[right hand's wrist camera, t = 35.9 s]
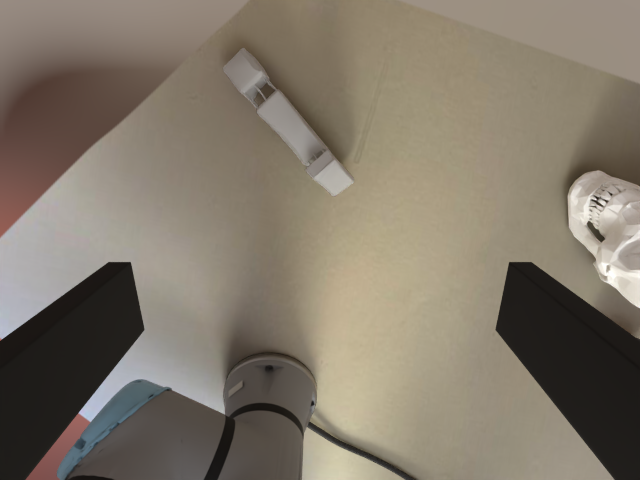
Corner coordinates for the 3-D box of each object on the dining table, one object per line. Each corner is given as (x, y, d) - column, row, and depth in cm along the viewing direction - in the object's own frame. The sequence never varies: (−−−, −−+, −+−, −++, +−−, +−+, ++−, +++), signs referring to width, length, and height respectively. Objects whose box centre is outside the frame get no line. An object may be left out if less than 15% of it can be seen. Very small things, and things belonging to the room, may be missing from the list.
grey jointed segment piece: (355, 178, 47) (358, 184, 40) (334, 196, 47) (332, 205, 41) (252, 52, 43) (236, 37, 37) (230, 74, 44) (211, 63, 38)
